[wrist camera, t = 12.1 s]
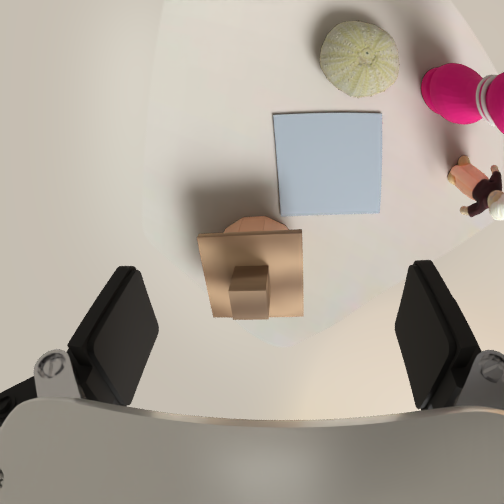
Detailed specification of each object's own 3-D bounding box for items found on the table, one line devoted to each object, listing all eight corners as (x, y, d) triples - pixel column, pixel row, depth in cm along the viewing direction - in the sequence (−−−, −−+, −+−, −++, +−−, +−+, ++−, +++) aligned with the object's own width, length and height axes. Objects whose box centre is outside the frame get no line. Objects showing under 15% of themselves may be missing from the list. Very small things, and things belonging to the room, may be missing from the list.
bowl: (213, 218, 43) (203, 237, 39) (296, 214, 42) (297, 233, 37) (224, 286, 49) (217, 310, 44) (298, 284, 47) (299, 308, 42)
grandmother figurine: (460, 143, 34) (514, 171, 23) (479, 157, 34) (533, 189, 23) (435, 192, 38) (480, 234, 27) (454, 203, 38) (500, 248, 27)
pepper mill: (416, 59, 30) (516, 56, 13) (464, 68, 29) (573, 80, 12) (417, 115, 33) (513, 154, 16) (464, 121, 32) (568, 166, 15)
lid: (198, 233, 38) (185, 260, 33) (301, 229, 37) (303, 256, 32) (214, 312, 44) (205, 343, 39) (303, 311, 43) (304, 343, 37)
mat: (273, 114, 36) (273, 115, 35) (381, 113, 34) (381, 113, 34) (281, 215, 42) (281, 216, 42) (379, 212, 40) (379, 213, 40)
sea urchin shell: (297, 62, 31) (338, 21, 23) (325, 37, 33) (362, 1, 26) (357, 118, 33) (406, 88, 26) (376, 86, 36) (419, 58, 28)
